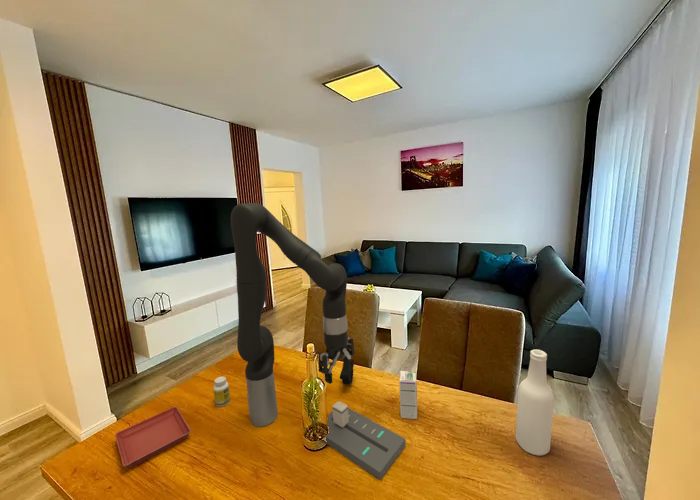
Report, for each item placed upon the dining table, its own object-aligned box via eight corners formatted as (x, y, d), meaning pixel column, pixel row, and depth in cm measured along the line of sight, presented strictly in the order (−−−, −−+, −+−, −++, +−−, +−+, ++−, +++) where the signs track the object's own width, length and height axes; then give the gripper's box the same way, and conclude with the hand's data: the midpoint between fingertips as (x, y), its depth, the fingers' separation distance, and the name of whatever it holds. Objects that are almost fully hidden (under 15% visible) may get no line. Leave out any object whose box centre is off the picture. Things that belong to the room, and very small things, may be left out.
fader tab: (333, 422, 97) (332, 406, 96) (339, 416, 100) (338, 400, 99) (342, 427, 95) (341, 411, 94) (348, 422, 97) (347, 405, 96)
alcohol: (545, 436, 91) (552, 346, 86) (554, 460, 83) (562, 362, 78) (512, 430, 94) (517, 343, 89) (518, 453, 86) (524, 358, 81)
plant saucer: (177, 413, 110) (176, 405, 109) (193, 439, 97) (191, 430, 96) (116, 442, 97) (114, 433, 97) (125, 476, 85) (123, 467, 84)
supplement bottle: (226, 407, 111) (223, 383, 109) (212, 407, 111) (209, 384, 110) (232, 397, 116) (229, 375, 115) (219, 398, 117) (216, 375, 115)
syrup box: (417, 419, 100) (417, 381, 98) (399, 418, 102) (399, 379, 99) (417, 408, 106) (416, 371, 103) (400, 406, 107) (399, 370, 105)
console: (313, 434, 96) (313, 427, 96) (341, 410, 107) (341, 403, 106) (380, 480, 80) (379, 471, 79) (405, 445, 90) (405, 438, 90)
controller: (355, 375, 127) (354, 354, 125) (350, 394, 115) (348, 370, 113) (345, 374, 128) (344, 353, 126) (339, 393, 116) (338, 370, 114)
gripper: (341, 317, 99) (343, 362, 102) (310, 333, 88) (313, 382, 91) (359, 323, 94) (361, 369, 97) (328, 340, 84) (331, 392, 86)
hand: (338, 375), depth 94 cm, fingers open, 8 cm apart
